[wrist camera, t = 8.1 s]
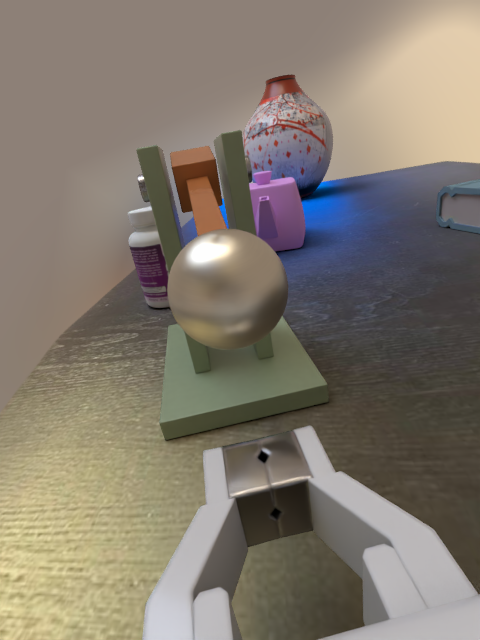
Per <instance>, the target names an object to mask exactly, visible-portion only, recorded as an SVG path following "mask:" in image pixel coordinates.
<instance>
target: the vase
mask: <svg viewBox="0 0 480 640" xmlns="http://www.w3.org/2000/svg"><path fill="white" fill-rule="evenodd" d="M243 145H244V152H245V155H248V157H249V159H250V162H251V168H252V181H253V183H256V181H255V179H254V176H253V174H254V173H258V172H262V171H272V173H271V179H270V180H276V179H282V178H288V177H292V178H294V180H295V182H296V185H297V188H298V192H299V195H300V198H302V197H306V196H308V195H310V194H311V193H313V192H314V191H315V190H316V189H317V187H318V186H319V185H320V183H321V182H322V180H323V178H324V176H325V174H326V172H327V169H328V167H329V163H330V160H331V155H332V147H333V134H332V128H331V124H330V121H329V118H328V116H327V115H326V113H325V112H324V111H323V110H322V109H321V108H320V107H319V106H318V105H317V104H316V103H315V102H313V101H312V100H311V99H310V98H309V97H308V96H307V95H306V94H305V93H304V92H303V91H302V89H301V88H300V87H299V85H298V84H297V82H296V80H295V75H284V76H279V77H275V78H272V79H269V80H267V81H266V89H265V92H264V95H263V98H262V99H261V102H260V103H259V105H258V107H257V109H256V110H255V112H254V114H253V115H252V117H251V119H250V120H249V122H248V124H247V126H246V128H245V130H244V133H243Z"/></svg>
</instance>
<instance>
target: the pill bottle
mask: <svg viewBox="0 0 480 640" xmlns="http://www.w3.org/2000/svg"><path fill="white" fill-rule="evenodd" d="M128 217H129V221H130V224H131V226H132V227H134V228H135V232H133V233H132V234H131V236H130V238H129V246H130V249H131V253H132V256H133V260H134V263H135V266H136V270H137V273H138V276H139V280H140V283H141V286H142V290H143V293H144V296H145V300H146V302H147V304H148V305H149V306H151V307H155V308H165V307H170V305H169V300H168V292H167V287H168V277H169V272H168V268H167V264H166V261H165V257H164V253H163V249H162V245H161V242H160V238H159V234H158V230H157V227H156V223H155V219H154V215H153V211H152V208H151V207H146V208H141V209H137V210H133V211H130V212H128Z"/></svg>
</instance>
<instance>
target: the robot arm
mask: <svg viewBox="0 0 480 640" xmlns="http://www.w3.org/2000/svg"><path fill="white" fill-rule="evenodd" d="M203 465H204V480H205V495H206V505H203V506H200V508H199V509H198V511H197V513H196V515H195V517H194V518H193V520H192V522H191V524H190V526H189V527H188V529H187V531H186V533H185V535H184V536H183V538H182V540H181V542H180V543H179V545H178V547H177V549H176V551H175V552H174V554H173V556H172V558H171V560H170V561H169V563H168V565H167V567H166V569H165V570H164V572H163V574H162V576H161V578H160V579H159V581H158V583H157V585H156V587H155V588H154V590H153V592H152V594H151V595H150V597H149V599H148V601H147V603H146V607H145V618H144V629H143V640H242V637H241V634H240V630H239V627H238V624H237V621H236V617H235V614H234V611H233V608H232V604H231V602H232V599H233V596H234V593H235V589H236V586H237V583H238V580H239V577H240V574H241V571H242V567H243V564H244V561H245V558H246V555H247V552H248V547H251V546H254V545H257V544H261V543H264V542H268V541H271V540H275V539H278V538H282V537H287V536H291V535H295V534H300V533H304V532H309V531H313V530H314V533H315V534H316V535H317V536H318V537H319V538H320V539H321V540H322V541H323V542H324V543H325V544H326V545H327V546H328V547H330V548H331V549H332V550H333V551H334V552H335V553H336V554H337V555H338V556H339V557H340V558H341V559H342V560H343V561H344V562H345V563H346V564H347V565H348V566H349V567H350V568H351V569H352V570H353V571H354V572H355V573H356V574H357V575H358V576H359V577H361V578H362V579H363V621H364V624H365V626H364V627H361V628H357V629H353V630H350V631H346V632H343V633H339V634H335V635H332V636H328V637H325V638H321V639H318V640H480V594H479V595H478V593H477V592H476V590H475V589H474V587H473V586H472V584H471V583H470V581H469V580H468V579H467V577H466V576H465V574H464V573H463V571H462V570H461V568H460V567H459V565H458V564H457V563H456V561H455V560H454V558H453V557H452V555H451V554H450V552H449V551H448V549H447V548H446V547H445V545H444V544H443V542H442V541H441V539H440V538H439V536H438V535H437V533H436V532H435V531H434V529H433V528H431V527H429V526H428V525H426V524H425V523H423V522H421V521H420V520H418V519H417V518H415V517H413V516H412V515H410V514H409V513H407V512H405V511H404V510H402V509H401V508H399V507H397V506H396V505H394V504H393V503H391V502H389V501H388V500H386V499H385V498H383V497H381V496H380V495H378V494H377V493H375V492H374V491H372V490H370V489H369V488H367V487H366V486H364V485H362V484H361V483H359V482H358V481H356V480H354V479H353V478H351V477H350V476H348V475H346V474H345V473H343V472H342V471H341V472H335V470H334V468H333V466H332V464H331V462H330V460H329V458H328V456H327V454H326V452H325V450H324V448H323V446H322V444H321V442H320V440H319V438H318V436H317V434H316V432H315V430H314V428H313V427H312V426H307V427H303V428H299V429H295V430H293V431H292V430H291V431H287V432H283V433H279V434H275V435H271V436H267V437H263V438H259V439H255V440H250V441H246V442H241V443H236V444H231V445H227V446H222V447H219V448H214V449H210V450H205V451H204V452H203Z"/></svg>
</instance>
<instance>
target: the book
mask: <svg viewBox="0 0 480 640" xmlns="http://www.w3.org/2000/svg"><path fill="white" fill-rule="evenodd" d="M436 220H437V221H438V223H439V225H440V226H441V227H450V228H451V229H457V230H462V231H467V232H473V233H478V234H480V179H478V180H473V181H468V182H464V183H459V184H455V185H450V186H445V187H443V188H442V190H441V191H440V192H439V193H438V198H437V211H436Z"/></svg>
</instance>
